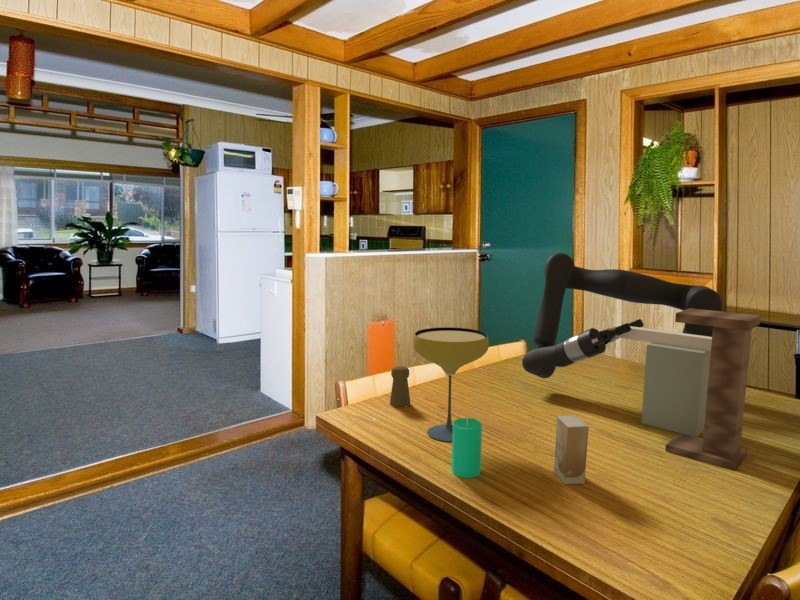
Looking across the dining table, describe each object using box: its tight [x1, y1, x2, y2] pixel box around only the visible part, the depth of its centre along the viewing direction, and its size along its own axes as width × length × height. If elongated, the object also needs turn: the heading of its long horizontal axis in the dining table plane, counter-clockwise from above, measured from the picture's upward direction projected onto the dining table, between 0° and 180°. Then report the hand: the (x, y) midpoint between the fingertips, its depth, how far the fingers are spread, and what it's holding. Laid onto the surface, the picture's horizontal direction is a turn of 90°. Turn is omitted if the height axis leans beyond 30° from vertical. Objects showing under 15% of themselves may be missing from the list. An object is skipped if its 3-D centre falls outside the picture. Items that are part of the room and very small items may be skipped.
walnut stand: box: [665, 308, 761, 471], centre depth 120 cm, size 14×10×32 cm
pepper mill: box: [389, 365, 411, 408], centre depth 154 cm, size 6×6×11 cm
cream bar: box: [616, 324, 712, 351], centre depth 138 cm, size 26×3×3 cm, turn 46°
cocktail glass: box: [412, 326, 490, 443], centre depth 131 cm, size 18×18×25 cm
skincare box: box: [553, 415, 589, 485], centre depth 109 cm, size 6×4×12 cm
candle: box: [451, 415, 483, 479], centre depth 112 cm, size 6×6×12 cm
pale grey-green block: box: [641, 342, 711, 437], centre depth 138 cm, size 13×10×21 cm
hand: (636, 324), depth 144 cm, fingers open, 8 cm apart
